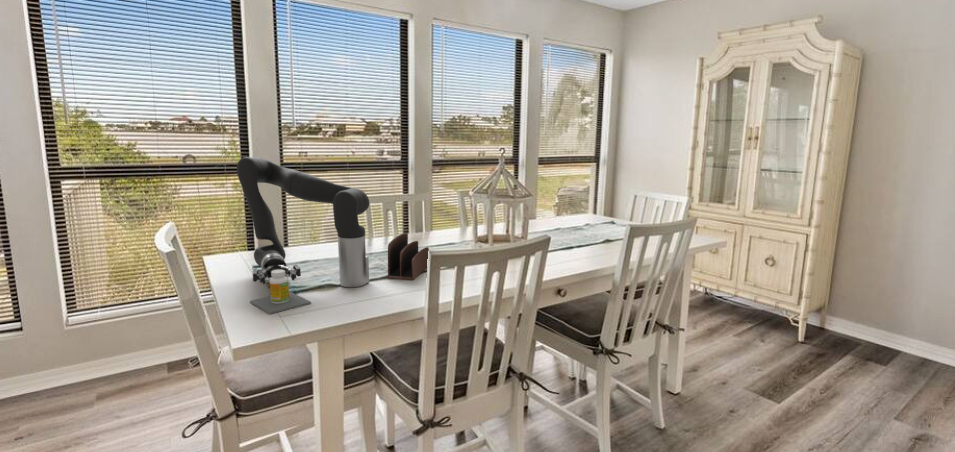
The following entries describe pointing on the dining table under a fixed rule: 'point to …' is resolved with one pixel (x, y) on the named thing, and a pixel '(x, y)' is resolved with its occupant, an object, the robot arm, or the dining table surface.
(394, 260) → the letter holder
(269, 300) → the mat
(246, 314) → the dining table surface
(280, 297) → the supplement bottle
